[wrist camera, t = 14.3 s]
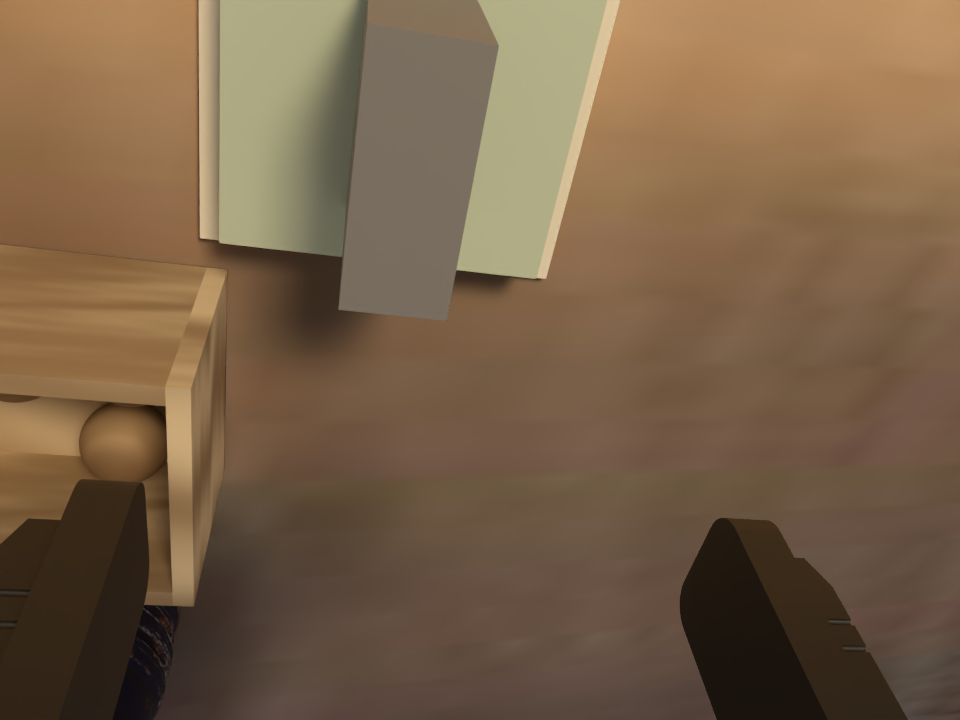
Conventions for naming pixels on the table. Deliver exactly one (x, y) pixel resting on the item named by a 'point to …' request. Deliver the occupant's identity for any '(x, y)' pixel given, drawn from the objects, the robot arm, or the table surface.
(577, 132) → the mat
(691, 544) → the table surface
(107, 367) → the box
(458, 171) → the lid
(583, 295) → the table surface
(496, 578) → the table surface
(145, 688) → the dark blue cylinder
